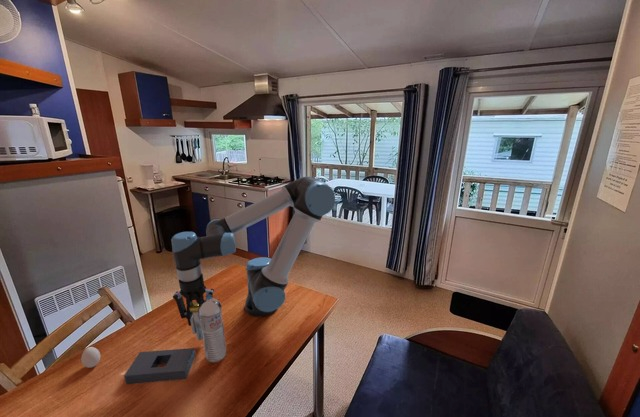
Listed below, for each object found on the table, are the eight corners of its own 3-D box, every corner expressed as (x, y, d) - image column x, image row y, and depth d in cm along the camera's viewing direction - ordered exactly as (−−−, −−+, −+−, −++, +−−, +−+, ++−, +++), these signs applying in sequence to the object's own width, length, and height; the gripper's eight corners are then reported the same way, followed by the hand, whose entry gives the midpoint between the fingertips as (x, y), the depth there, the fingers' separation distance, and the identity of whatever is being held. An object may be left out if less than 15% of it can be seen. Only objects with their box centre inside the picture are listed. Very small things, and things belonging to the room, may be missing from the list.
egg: (85, 364, 88) (79, 346, 86) (102, 357, 91) (97, 340, 89) (83, 374, 84) (77, 356, 82) (101, 367, 87) (96, 349, 85)
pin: (209, 331, 99) (204, 300, 95) (206, 340, 95) (200, 309, 90) (197, 332, 99) (191, 301, 94) (193, 341, 94) (186, 310, 90)
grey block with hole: (195, 355, 92) (194, 347, 91) (186, 378, 84) (184, 370, 82) (141, 359, 90) (139, 352, 89) (126, 384, 81) (123, 375, 80)
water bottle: (207, 366, 88) (197, 304, 81) (205, 351, 94) (196, 292, 86) (227, 359, 91) (221, 298, 84) (225, 345, 97) (218, 287, 89)
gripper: (217, 268, 93) (225, 321, 100) (170, 271, 91) (181, 325, 99) (212, 280, 86) (220, 336, 93) (160, 284, 84) (173, 341, 91)
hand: (200, 330), depth 96 cm, fingers closed on pin, 3 cm apart
